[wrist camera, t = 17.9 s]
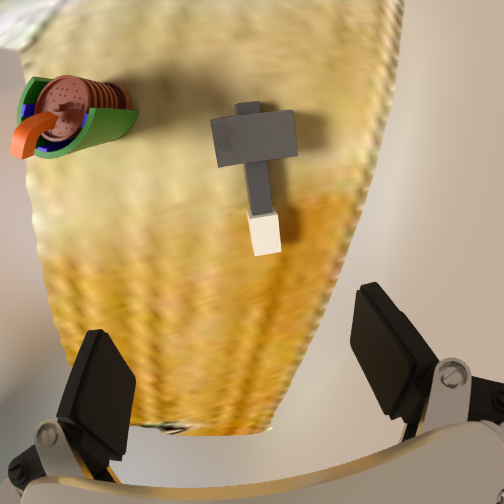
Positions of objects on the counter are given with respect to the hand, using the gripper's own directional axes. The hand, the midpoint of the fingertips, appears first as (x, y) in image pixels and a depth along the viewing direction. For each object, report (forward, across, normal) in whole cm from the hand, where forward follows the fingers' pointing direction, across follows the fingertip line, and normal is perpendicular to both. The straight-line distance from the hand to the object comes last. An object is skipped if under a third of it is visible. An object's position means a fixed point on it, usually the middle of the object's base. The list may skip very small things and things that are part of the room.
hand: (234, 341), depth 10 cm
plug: (+33, -5, +2) cm, 34 cm away
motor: (+34, +15, -12) cm, 39 cm away
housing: (+33, -5, -4) cm, 34 cm away
